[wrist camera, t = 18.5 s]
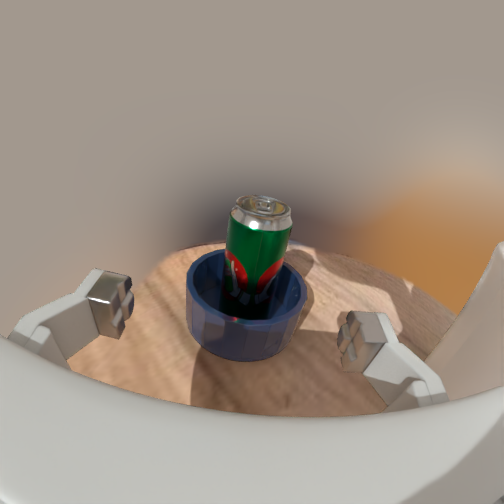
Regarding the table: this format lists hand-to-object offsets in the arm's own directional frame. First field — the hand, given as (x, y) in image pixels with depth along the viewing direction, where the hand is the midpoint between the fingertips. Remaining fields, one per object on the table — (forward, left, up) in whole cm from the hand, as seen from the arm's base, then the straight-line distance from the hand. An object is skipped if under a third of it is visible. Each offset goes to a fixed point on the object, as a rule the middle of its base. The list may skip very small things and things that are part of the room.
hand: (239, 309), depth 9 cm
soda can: (+4, +12, -13) cm, 18 cm away
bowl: (+4, +12, -13) cm, 19 cm away
